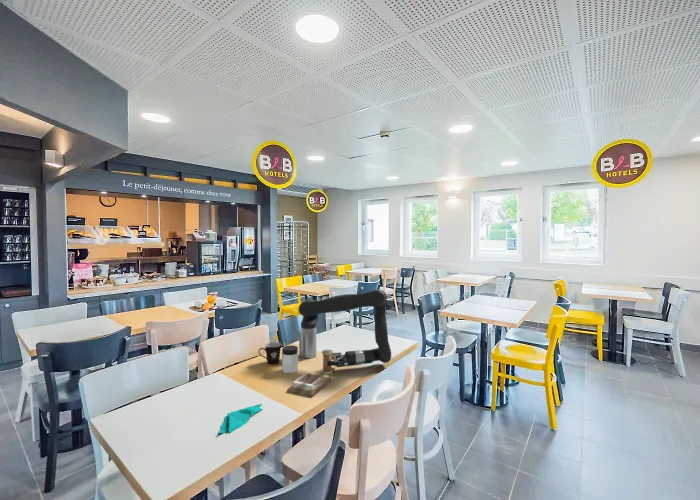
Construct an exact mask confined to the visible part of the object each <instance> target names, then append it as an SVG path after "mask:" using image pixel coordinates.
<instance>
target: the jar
mask: <svg viewBox="0 0 700 500" xmlns="http://www.w3.org/2000/svg"><path fill="white" fill-rule="evenodd" d="M281 348H282V349H281V369H282V373H285V374H293V373H296V372H298V371H299V346H296V345H291V344H290V345H286V346H285V345H284V346H283V347H281Z"/></svg>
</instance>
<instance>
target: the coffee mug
mask: <svg viewBox="0 0 700 500" xmlns="http://www.w3.org/2000/svg"><path fill="white" fill-rule="evenodd" d="M264 346H265V348H264V347H261V348H259V349H258V355H260V356H261V357H262V358H264V359H266V363H267V364H268V365H277V364H279V363H280V357H281V351H282V349H281V348H282V343H281V342H268V343H266V344H265V345H264ZM261 350H264V351H265V353H266V354H265V355H266V356H264V355H263V354H261V353H260V351H261Z"/></svg>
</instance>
